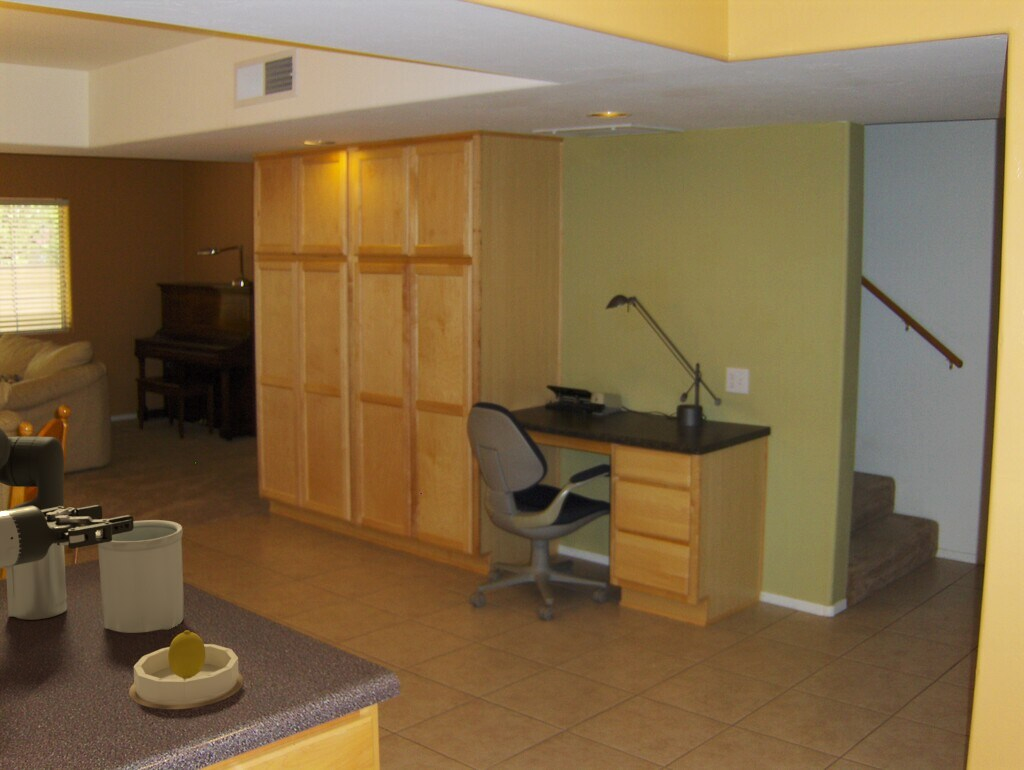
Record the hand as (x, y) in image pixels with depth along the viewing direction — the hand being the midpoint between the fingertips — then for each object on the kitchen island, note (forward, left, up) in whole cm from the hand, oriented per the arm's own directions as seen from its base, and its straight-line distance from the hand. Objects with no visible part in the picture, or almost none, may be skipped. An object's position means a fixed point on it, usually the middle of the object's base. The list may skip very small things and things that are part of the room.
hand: (116, 517), depth 155 cm
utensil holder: (-10, +37, -30) cm, 49 cm away
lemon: (+7, +8, -28) cm, 30 cm away
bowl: (+7, +8, -29) cm, 31 cm away
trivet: (+7, +8, -30) cm, 32 cm away
